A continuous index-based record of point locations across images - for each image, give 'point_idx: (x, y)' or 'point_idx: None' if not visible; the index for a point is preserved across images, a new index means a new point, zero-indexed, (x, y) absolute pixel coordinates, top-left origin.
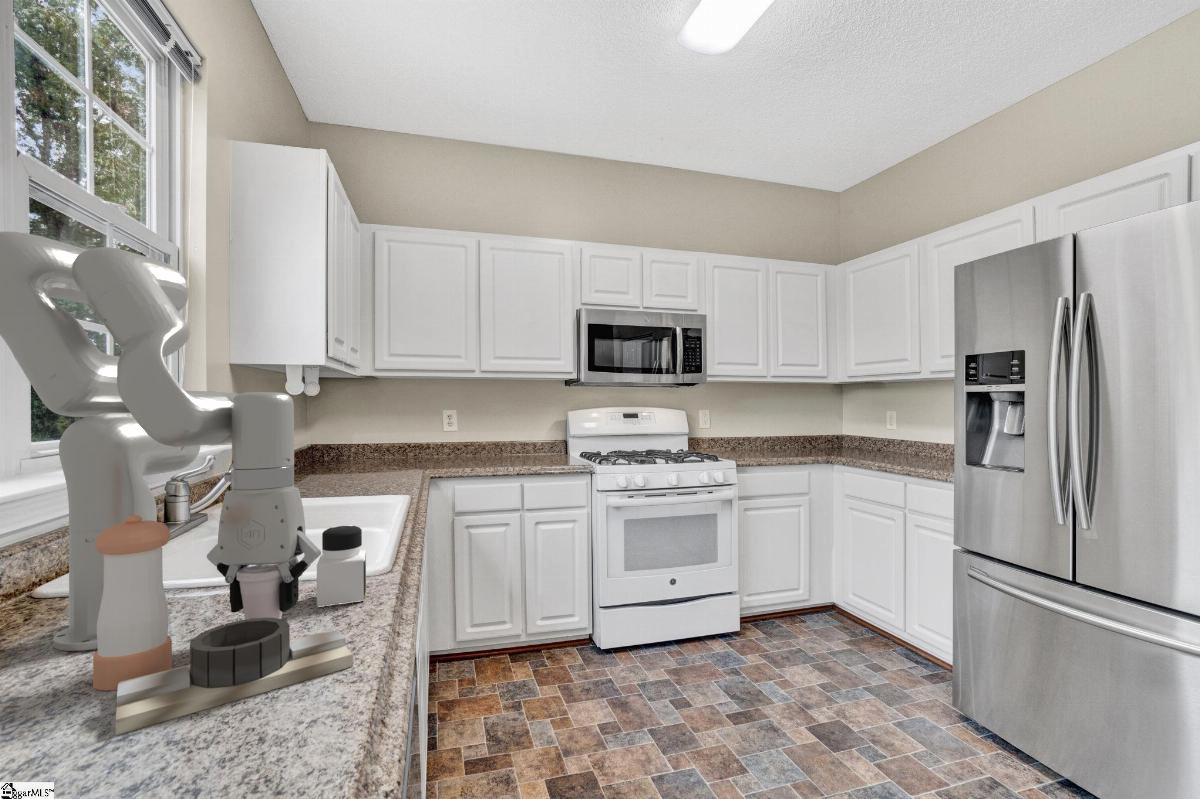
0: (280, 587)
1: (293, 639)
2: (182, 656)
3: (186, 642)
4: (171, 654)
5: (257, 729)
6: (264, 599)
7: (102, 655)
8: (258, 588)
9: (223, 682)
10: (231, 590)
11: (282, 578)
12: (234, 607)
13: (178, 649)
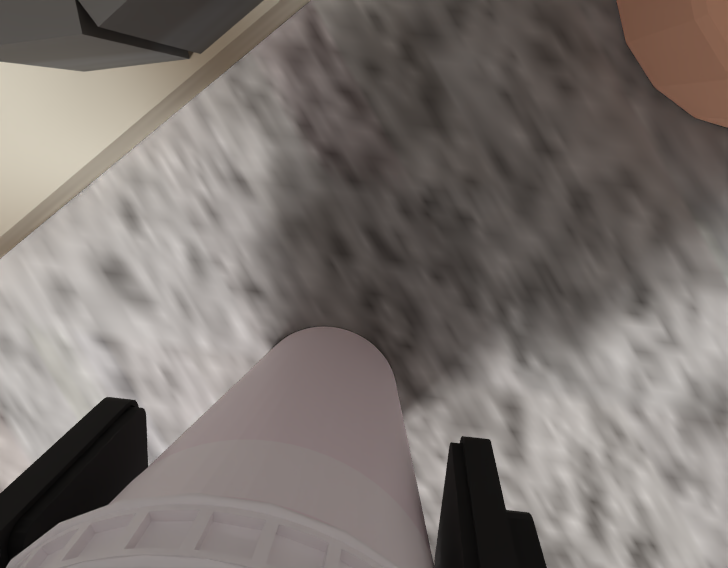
0: (21, 502)
1: (32, 205)
2: (646, 196)
3: (725, 383)
4: (653, 26)
5: None
6: (192, 433)
7: None
8: (186, 474)
9: None
10: (508, 549)
11: None
12: (464, 450)
13: (721, 295)
